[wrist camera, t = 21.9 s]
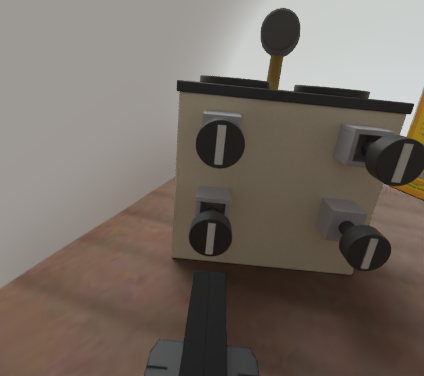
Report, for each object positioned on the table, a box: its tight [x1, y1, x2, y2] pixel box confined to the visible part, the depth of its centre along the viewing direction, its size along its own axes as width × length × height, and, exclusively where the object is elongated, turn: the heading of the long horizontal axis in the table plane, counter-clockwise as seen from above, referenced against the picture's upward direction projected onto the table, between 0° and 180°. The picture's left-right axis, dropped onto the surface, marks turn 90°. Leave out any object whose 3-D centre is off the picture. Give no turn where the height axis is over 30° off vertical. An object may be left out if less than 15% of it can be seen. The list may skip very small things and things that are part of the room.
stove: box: [172, 75, 414, 275], centre depth 26 cm, size 17×18×17 cm
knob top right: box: [361, 135, 424, 186], centre depth 18 cm, size 4×3×3 cm
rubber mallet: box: [261, 8, 300, 90], centre depth 58 cm, size 12×8×30 cm, turn 167°
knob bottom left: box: [189, 207, 232, 257], centre depth 21 cm, size 4×3×3 cm
